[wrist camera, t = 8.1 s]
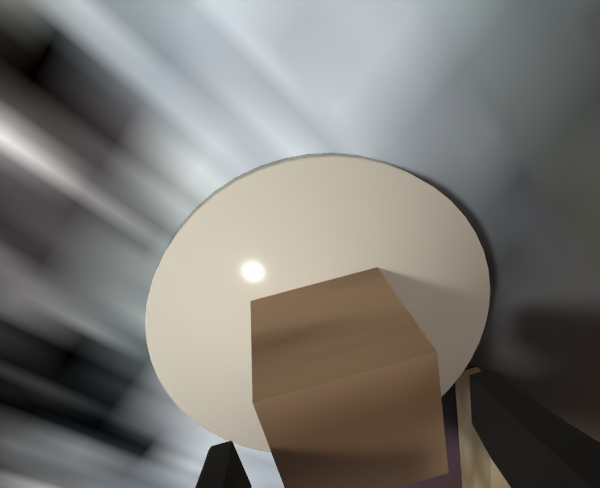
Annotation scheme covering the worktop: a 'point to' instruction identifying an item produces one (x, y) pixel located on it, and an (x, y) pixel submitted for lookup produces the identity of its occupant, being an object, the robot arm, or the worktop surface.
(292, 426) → the walnut block
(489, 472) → the wooden u-shaped frame
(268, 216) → the ceramic plate
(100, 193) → the worktop surface
